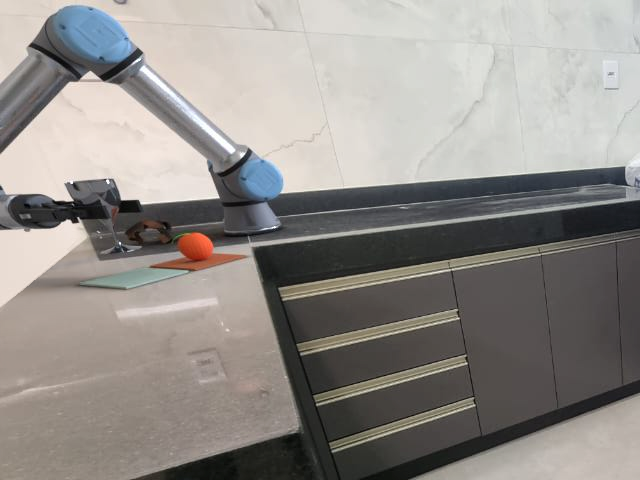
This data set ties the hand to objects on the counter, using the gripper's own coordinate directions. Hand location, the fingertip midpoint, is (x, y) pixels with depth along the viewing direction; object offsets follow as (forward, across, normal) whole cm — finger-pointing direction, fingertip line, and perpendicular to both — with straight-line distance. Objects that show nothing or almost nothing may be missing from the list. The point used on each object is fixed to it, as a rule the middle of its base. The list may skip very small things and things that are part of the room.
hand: (123, 209), depth 115 cm
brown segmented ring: (-38, -40, -16) cm, 57 cm away
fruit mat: (-1, -14, -16) cm, 21 cm away
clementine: (-1, -14, -15) cm, 21 cm away
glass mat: (-5, 0, -16) cm, 16 cm away
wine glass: (-5, 0, -9) cm, 10 cm away
